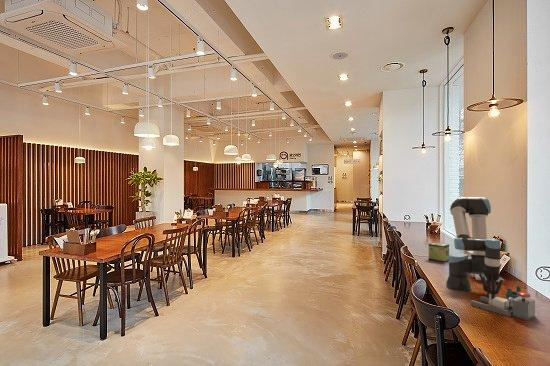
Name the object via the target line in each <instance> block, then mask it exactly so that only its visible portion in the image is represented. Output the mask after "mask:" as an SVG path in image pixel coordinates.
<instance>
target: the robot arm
mask: <svg viewBox="0 0 550 366" xmlns="http://www.w3.org/2000/svg"><path fill="white" fill-rule="evenodd" d="M449 207H450V208H449V211H450V214H451V216H452V217H453V218H452V219H453V224H454V229H455V234H456V237H454V240H453V246H454V248H455V250H457V251H458V250H459V251H473V253H471V257H469V256H468V255H467V253H453V254H449V261H448V276H447V277H448V278H447V280H446V283H445V286H446V288H449V289H452V290H455V291H463V292H467V291H471V290H472V285H471V282H470V279H469V275H471V274H479V276H480V278H481V280H480V281H481V285H482V288H483V291H484V292H485V293H487V296H486V297H487V298H489V303H488V305H491V306H492V299H493V298H495V297H496V295H498V294H499V293H500V291H501V289H502V285H503V283H504V282H505V281H506V279H504V278H502V277H501V274H500V272H501V267H500V266H501V248H502V245H501V240H499V239H497V238H490V237H489V238H488V237H487V236H488V235H487V232H488V231H487V220H486V219H487V218H488V217H489V214H491V213H492V208H491V207H492V205H491V203H490V200H489V198H488V197H481V196H463V197H462V196H461V197H458V198H456V199H455V200H454V201H452V203H451V205H450V206H449ZM466 214H468V216H469V217H470V219H471V234H472V235H470V230H469V226H468V221H467V218H466ZM471 237H472V238H471ZM485 277H486V278H487V281H486V280H485ZM498 279H499V282H498V283H497V282H496V281H497V280H498ZM496 284H497V286H496Z"/></svg>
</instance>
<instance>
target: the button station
mask: <svg viewBox="0 0 550 366" xmlns="http://www.w3.org/2000/svg"><path fill="white" fill-rule="evenodd" d="M516 292H517V291H516ZM517 295H518V296H519V297H517V298H515V299H514V298H512V297H509V298H508V301H507V310H509V311H511V313H512V317H515V318H517V319H520V320H521V319H522V320H525V321H528V322H529V321H530V320H532V319H533V318H535V317H536V300H535V299H533V298H531V296H532V295H531V294H530V293H528V292H524V291H521V292H517Z"/></svg>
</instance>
